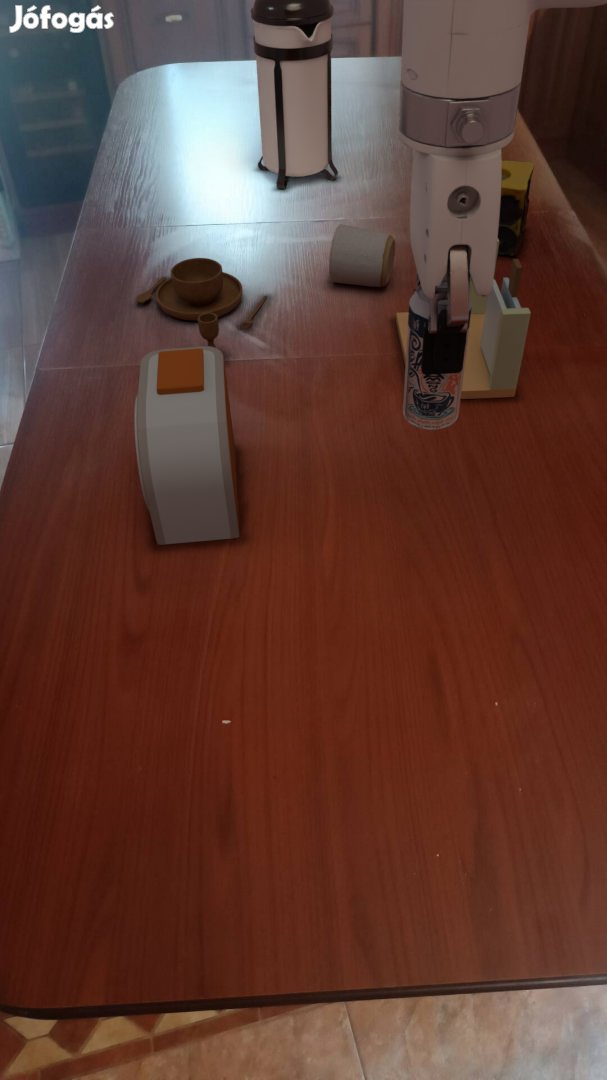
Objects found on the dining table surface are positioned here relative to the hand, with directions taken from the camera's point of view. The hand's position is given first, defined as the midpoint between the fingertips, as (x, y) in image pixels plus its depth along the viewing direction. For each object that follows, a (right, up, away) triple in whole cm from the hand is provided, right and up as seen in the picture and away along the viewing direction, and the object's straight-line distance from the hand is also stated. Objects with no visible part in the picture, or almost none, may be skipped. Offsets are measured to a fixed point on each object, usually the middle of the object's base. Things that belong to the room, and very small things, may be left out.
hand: (436, 349), depth 65 cm
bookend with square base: (+8, +8, +35) cm, 37 cm away
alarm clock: (-22, -10, +20) cm, 31 cm away
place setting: (-26, +15, +44) cm, 53 cm away
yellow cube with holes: (+17, +30, +57) cm, 67 cm away
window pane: (+13, +6, +32) cm, 35 cm away
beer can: (0, -5, +5) cm, 7 cm away
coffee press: (-13, +50, +77) cm, 93 cm away
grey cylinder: (-2, +22, +50) cm, 55 cm away
